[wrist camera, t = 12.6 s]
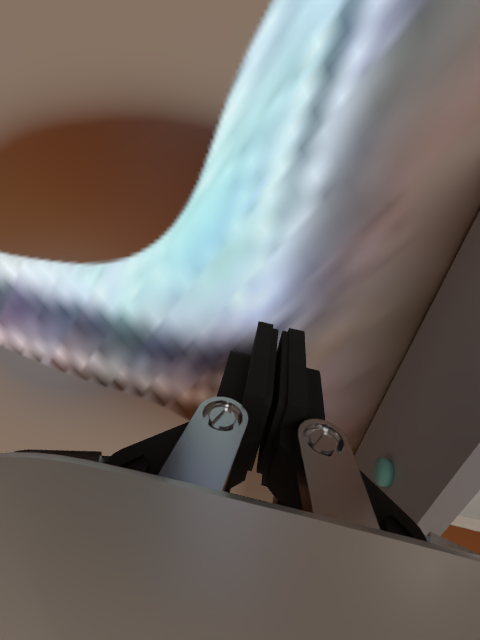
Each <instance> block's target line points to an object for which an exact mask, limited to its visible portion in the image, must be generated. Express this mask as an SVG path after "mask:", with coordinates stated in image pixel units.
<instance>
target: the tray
mask: <svg viewBox="0 0 480 640" xmlns="http://www.w3.org/2000/svg"><path fill="white" fill-rule="evenodd" d="M354 457H355V460H356V463H357V466H358V468H359V470H360V471H362V472H363V473H364V474H365V475H366V476H367V477H368V478H369V479H370V480H371V481H372V482H373V483H374V484H375V485H376V486H377V487H379V488H380V489H381V490H382V491H383V492H384V493H385V494H386V495H387V496H388V497H389V498H390V499H391V500H392V501H393V502H394V503H395V504H397V505H398V506H399V507H400V508H401V509H402V510H403V511H404V512H405V513H406V514H407V515H408V516H409V517H410V518H411V519H412V520H413V521H414V522H415V523H416V524H417V525H418V526H419V527H420V529H421V530H422V532H423V534H426V535H428V533H429V532H432V533H434V534H437V535H439V536H441V535H442V534H443V532H444V531H445V530H446V529H447V528H448V527H449V525H454V526H458V527H463V528H467V529H471V530H475V531H479V532H480V211H479V213H478V215H477V217H476V219H475V221H474V222H473V224H472V226H471V228H470V230H469V232H468V234H467V236H466V238H465V240H464V242H463V244H462V246H461V248H460V250H459V252H458V254H457V256H456V258H455V260H454V262H453V264H452V266H451V268H450V269H449V271H448V273H447V275H446V277H445V279H444V281H443V283H442V285H441V287H440V289H439V291H438V293H437V295H436V297H435V299H434V301H433V303H432V305H431V307H430V309H429V311H428V313H427V314H426V316H425V318H424V320H423V322H422V324H421V326H420V328H419V330H418V332H417V334H416V336H415V338H414V340H413V342H412V344H411V346H410V348H409V350H408V352H407V354H406V356H405V358H404V360H403V361H402V363H401V365H400V367H399V369H398V371H397V373H396V375H395V377H394V379H393V381H392V383H391V385H390V387H389V389H388V391H387V393H386V395H385V397H384V399H383V401H382V403H381V405H380V406H379V408H378V410H377V412H376V414H375V416H374V418H373V420H372V422H371V424H370V426H369V428H368V430H367V432H366V434H365V436H364V438H363V440H362V442H361V444H360V446H359V448H358V450H357V452H356V453H355V455H354Z"/></svg>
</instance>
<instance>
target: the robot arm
mask: <svg viewBox="0 0 480 640" xmlns="http://www.w3.org/2000/svg"><path fill="white" fill-rule="evenodd" d="M277 340H278V330H277V329H273V324H268V323H264V322H259V323H258V327H257V331H256V336H255V340H254V344H253V349H252V353H251V355H247V354H243V353H239V352H234V351H231V352H230V355H229V358H228V361H227V365H226V368H225V371H224V375H223V378H222V381H221V385H220V388H219V391H218V395H217V397H213V398H209V399H207V400H205V401H203V402H202V403H201V405H200V406H199V407H198V409H197V410H196V412H195V414H194V415H193V417H192V419H191V420H190V422H187V423H185V424H182V425H180V426H177V427H175V428H172V429H170V430H168V431H165V432H163V433H160V434H158V435H155V436H153V437H150V438H148V439H145V440H143V441H140V442H138V443H136V444H133V445H131V446H128V447H126V448H123V449H121V450H119V451H118V452H116V453H114V454H113V455H112V456H102V454H101V452H97V451H64V450H29V449H28V450H20V451H15V452H9V453H0V640H480V554H478V553H476V552H474V551H472V550H469V549H467V548H465V547H463V546H461V545H458V544H456V543H454V542H452V541H450V540H447V539H445V538H443V537H441V536H439V535H437V534H434V533H432V532H429V533H428V535H426V534H423V532H422V530H421V529H420V527H419V526H418V525H417V524H416V523H415V522H414V521H413V520H412V519H411V518H410V517H409V516H408V515H407V514H406V513H405V512H404V511H403V510H402V509H401V508H400V507H399V506H398V505H397V504H395V503H394V502H393V501H392V500H391V499H390V498H389V497H388V496H387V495H386V494H385V493H384V492H383V491H382V490H381V489H380V488H379V487H377V486H376V485H375V484H374V483H373V482H372V481H371V480H370V479H369V478H368V477H367V476H366V475H365V474H364V473H363V472H362V471H360V470H359V468H358V466H357V463H356V460H355V457H354V454H353V451H352V449H351V446H350V443H349V441H348V439H347V437H346V435H345V434H344V433H343V432H342V431H341V429H339V428H338V427H337V426H335V425H334V424H332V423H330V422H328V421H325V413H324V404H323V395H322V386H321V377H320V372H319V371H318V370H314V369H309V368H306V353H305V334H304V331H300V330H295V329H291V328H289V330H288V332H286V331H282V334H281V338H280V341H279V345H278V348H277ZM259 444H260V445H259ZM258 448H259V454H258V463H257V473H261V474H262V485H264V486H267V487H268V489H269V490H270V491H271V492H272V494H273V495H274V497H273V503H269V502H265V501H261V500H257V499H253V498H249V497H245V496H241V495H237V494H232V493H230V489H231V488H232V487H234V486H236V485H237V484H239V483H241V482H242V481H244V480H245V477H246V474H247V470H249V471H252V468H253V465H254V461H255V458H256V454H257V451H258Z"/></svg>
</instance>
